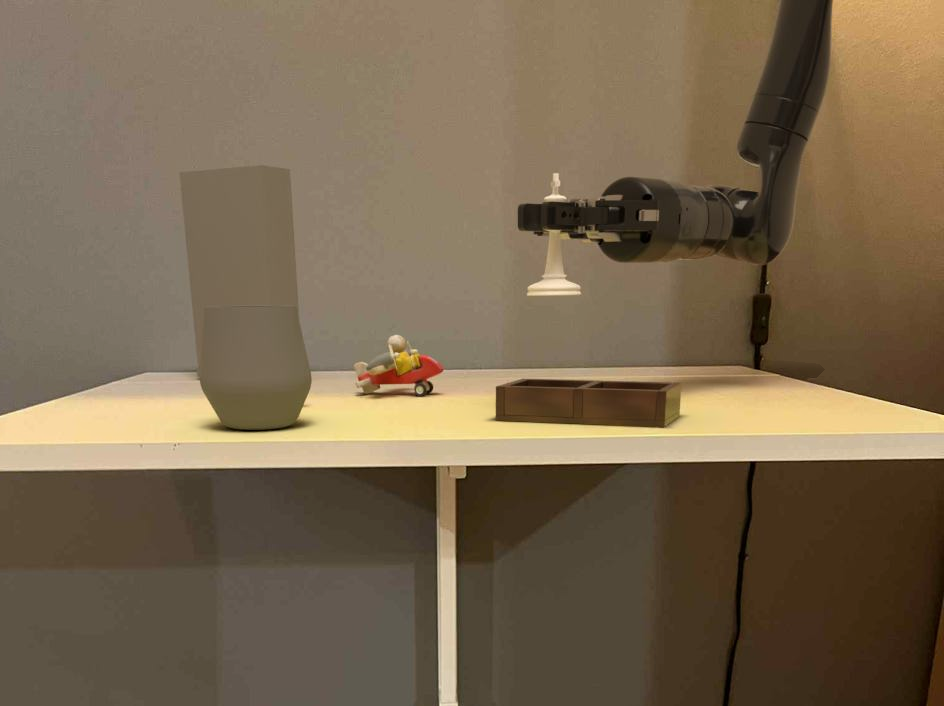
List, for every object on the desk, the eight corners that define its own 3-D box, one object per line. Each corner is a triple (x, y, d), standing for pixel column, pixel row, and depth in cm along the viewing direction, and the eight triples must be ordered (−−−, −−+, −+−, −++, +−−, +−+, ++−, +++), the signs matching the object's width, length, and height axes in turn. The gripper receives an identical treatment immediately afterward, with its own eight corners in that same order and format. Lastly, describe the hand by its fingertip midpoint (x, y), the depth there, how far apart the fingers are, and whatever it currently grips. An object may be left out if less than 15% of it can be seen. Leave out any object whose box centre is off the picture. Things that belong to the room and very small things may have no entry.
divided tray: (679, 415, 91) (681, 382, 90) (664, 427, 84) (666, 391, 82) (522, 410, 96) (522, 378, 95) (495, 420, 89) (495, 386, 88)
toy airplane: (448, 395, 109) (447, 334, 107) (374, 400, 105) (371, 337, 103) (410, 388, 116) (408, 331, 114) (339, 393, 112) (336, 334, 110)
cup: (328, 420, 89) (322, 304, 86) (291, 435, 81) (282, 307, 77) (231, 418, 91) (222, 305, 88) (185, 432, 83) (172, 307, 79)
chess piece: (533, 296, 86) (534, 170, 83) (521, 295, 91) (522, 176, 87) (587, 295, 87) (591, 170, 83) (573, 294, 91) (575, 176, 88)
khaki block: (308, 379, 129) (295, 169, 120) (276, 383, 124) (261, 165, 116) (230, 375, 136) (213, 176, 127) (197, 379, 131) (177, 172, 122)
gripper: (597, 184, 99) (475, 174, 88) (716, 173, 90) (596, 160, 79) (594, 264, 102) (476, 264, 91) (710, 261, 92) (593, 261, 81)
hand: (533, 216), depth 85 cm, fingers closed on chess piece
